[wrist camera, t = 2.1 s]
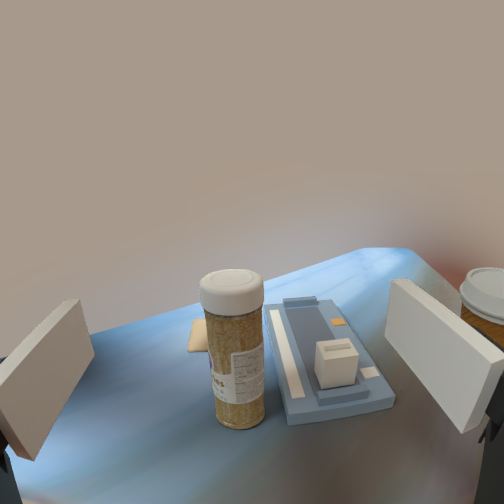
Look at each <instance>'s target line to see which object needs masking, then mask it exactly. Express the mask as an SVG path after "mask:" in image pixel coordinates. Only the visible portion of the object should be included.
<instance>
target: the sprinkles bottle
mask: <svg viewBox="0 0 504 504" xmlns="http://www.w3.org/2000/svg"><path fill="white" fill-rule="evenodd" d="M199 287H200V299H201V305H202V307H203V309H204V312H205V320H206V329H207V338H208V353H209V361H210V369H211V378H212V386H213V392H214V395H215V403H216V409H215V413H216V418H217V419H218V421H219V422H220V423H221V424H223V425H225V426H226V427H228V428H232V429H247V428H251V427H253V426H255V425H257V424H258V423H260V422H261V421H262V420H263V418H264V415H265V407H264V405H263V402H264V398H263V391H264V344H263V333H262V306H263V302H264V287H263V279H262V277H261V276H260V275H259V274H257V273H255V272H253V271H249V270H244V269H227V270H220V271H216V272H213V273H210V274H208V275H206V276H204V277H203V278H202V279H201V281H200V285H199Z"/></svg>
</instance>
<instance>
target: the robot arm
mask: <svg viewBox="0 0 504 504" xmlns="http://www.w3.org/2000/svg"><path fill="white" fill-rule="evenodd" d="M384 337H385V338H386V339H387V340H388V342H389V343H390V344H391V345H392V346H393V348H394V349H395V350H396V351H397V352H398V354H399V355H400V356H401V357H402V359H403V360H404V361H405V362H406V364H407V365H408V366H409V367H410V369H411V370H412V371H413V372H414V373H415V375H416V376H417V377H418V379H419V380H420V381H421V382H422V384H423V385H424V386H425V387H426V389H427V390H428V391H429V392H430V394H431V395H432V396H433V398H434V399H435V400H436V401H437V403H438V404H439V405H440V407H441V408H442V409H443V410H444V412H445V413H446V414H447V416H448V417H449V418H450V420H451V421H452V422H453V424H454V425H455V426H456V428H457V429H458V430H459V432H460V433H461V434H463V433H465V432H467V431H469V430H471V429H474V428H476V427H478V426H479V424H480V422H481V420H482V418H483V416H484V414H485V413H486V414H487V415H488V416H489V417H490V420H489V422H488V424H487V426H486V428H485V429H484V431H483V433H482V435H481V437H480V439H479V441H478V443H481V442H482V440H483V438H484V437H485V445H484V453H483V460H482V466H481V472H480V478H479V483H478V488H477V492H476V497H475V501H474V504H504V348H503V347H502V346H500V345H499V344H498V343H497V342H494V340H493V339H492V338H490V337H489V336H487V334H485V333H484V332H483V331H482V330H480V329H479V328H477V327H475V326H473V325H470V324H468V323H466V322H465V321H463V320H462V319H461V318H459V317H458V316H457V315H456V314H454V313H453V312H452V311H450V310H449V309H448V308H446V307H445V306H444V305H442V304H441V303H440V302H438V301H437V300H436V299H434V298H433V297H432V296H430V295H429V294H428V293H426V292H425V291H423V290H422V289H421V288H419V287H418V286H417V285H415V284H414V283H412V282H411V281H410V280H408V279H407V278H404V279H395V280H391V289H390V298H389V306H388V314H387V321H386V328H385V335H384ZM94 356H95V353H94V350H93V346H92V343H91V340H90V336H89V333H88V330H87V326H86V323H85V318H84V314H83V311H82V307H81V302H80V300H65V301H64V302H63V303H62V304H60V305H59V306H58V307H57V308H56V309H55V310H54V311H53V312H52V313H51V314H50V315H49V316H48V317H47V318H46V319H45V320H44V321H43V322H42V323H40V325H39V326H37V327H36V328H35V329H34V330H33V331H32V332H31V333H30V334H29V335H28V336H27V337H26V338H25V339H24V340H23V341H22V342H21V343H20V344H19V345H18V346H17V348H16V349H14V350H13V352H12V353H11V354H10V355H9V356H7V357H6V358H4V359H3V360H2V361H1V362H0V504H22V501H21V497H20V494H19V491H18V488H17V484H16V481H15V477H14V474H13V470H12V466H11V462H10V458H9V456H8V454H7V453H6V451H5V449H6V447H7V445H8V444H9V445H10V447H11V448H12V449H13V451H14V452H15V454H16V455H17V456H19V457H22V458H25V459H28V460H31V461H35V459H36V457H37V455H38V453H39V451H40V449H41V447H42V445H43V443H44V442H45V440H46V438H47V436H48V434H49V432H50V430H51V429H52V427H53V425H54V423H55V421H56V420H57V418H58V416H59V414H60V413H61V411H62V409H63V407H64V406H65V404H66V402H67V400H68V399H69V397H70V395H71V394H72V392H73V390H74V389H75V387H76V385H77V384H78V382H79V380H80V379H81V377H82V375H83V374H84V372H85V370H86V369H87V367H88V366H89V364H90V362H91V361H92V359H93V358H94Z"/></svg>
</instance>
